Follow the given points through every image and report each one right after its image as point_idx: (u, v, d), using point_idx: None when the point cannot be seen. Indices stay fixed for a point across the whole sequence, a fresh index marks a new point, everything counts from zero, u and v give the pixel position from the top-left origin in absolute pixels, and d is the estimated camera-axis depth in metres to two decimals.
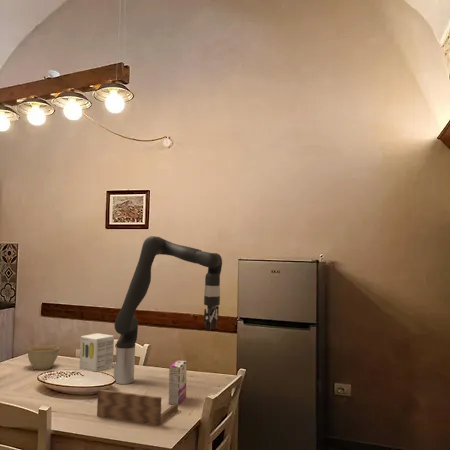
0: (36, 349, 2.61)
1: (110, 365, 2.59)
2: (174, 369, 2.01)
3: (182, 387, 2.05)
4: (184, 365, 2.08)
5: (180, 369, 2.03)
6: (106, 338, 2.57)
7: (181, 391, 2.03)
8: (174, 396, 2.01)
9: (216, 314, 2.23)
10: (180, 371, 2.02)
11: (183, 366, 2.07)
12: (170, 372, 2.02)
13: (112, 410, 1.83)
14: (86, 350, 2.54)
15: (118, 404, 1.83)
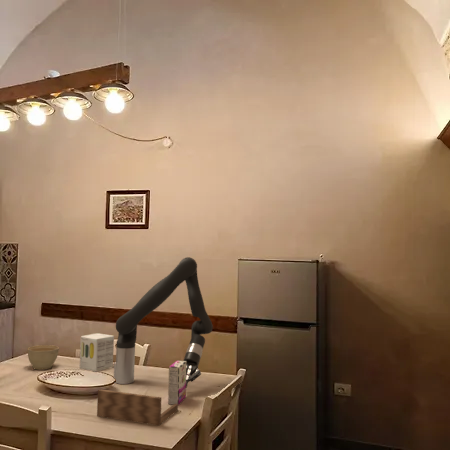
0: (36, 349, 2.61)
1: (110, 365, 2.59)
2: (174, 369, 2.01)
3: (182, 387, 2.05)
4: (184, 365, 2.08)
5: (180, 369, 2.02)
6: (106, 338, 2.57)
7: (180, 391, 2.03)
8: (173, 396, 2.00)
9: None
10: (179, 371, 2.01)
11: (183, 366, 2.06)
12: (170, 372, 2.01)
13: (112, 410, 1.83)
14: (86, 350, 2.54)
15: (118, 404, 1.83)
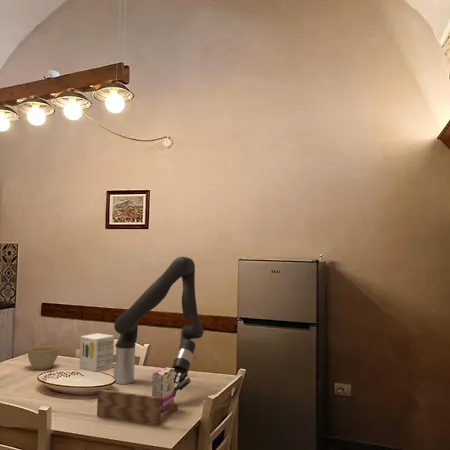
0: (36, 349, 2.61)
1: (110, 365, 2.59)
2: (157, 376, 1.89)
3: (167, 396, 1.92)
4: (170, 373, 1.95)
5: (164, 376, 1.89)
6: (106, 338, 2.57)
7: (165, 400, 1.90)
8: None
9: None
10: (163, 379, 1.89)
11: (169, 374, 1.93)
12: (153, 379, 1.89)
13: (112, 410, 1.83)
14: (86, 350, 2.54)
15: (118, 404, 1.83)
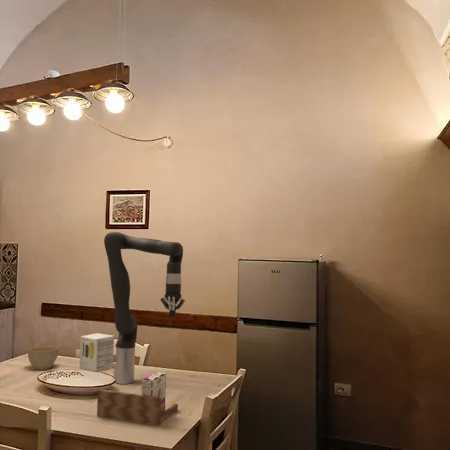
0: (36, 349, 2.61)
1: (110, 365, 2.59)
2: (147, 382, 1.81)
3: None
4: (161, 378, 1.87)
5: (154, 382, 1.82)
6: (106, 338, 2.57)
7: None
8: None
9: None
10: (153, 384, 1.81)
11: (159, 379, 1.86)
12: (143, 385, 1.82)
13: (112, 410, 1.83)
14: (86, 350, 2.54)
15: (118, 404, 1.83)
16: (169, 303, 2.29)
